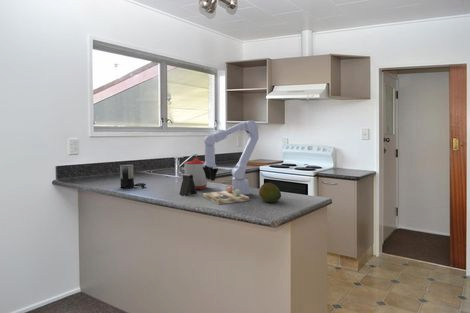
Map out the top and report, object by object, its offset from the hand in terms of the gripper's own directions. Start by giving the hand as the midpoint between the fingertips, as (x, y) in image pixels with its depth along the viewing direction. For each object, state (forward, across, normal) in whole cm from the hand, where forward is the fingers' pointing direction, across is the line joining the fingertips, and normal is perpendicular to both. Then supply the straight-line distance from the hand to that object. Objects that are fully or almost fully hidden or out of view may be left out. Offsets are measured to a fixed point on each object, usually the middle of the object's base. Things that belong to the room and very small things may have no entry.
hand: (210, 179), depth 214 cm
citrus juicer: (+10, -27, +2) cm, 29 cm away
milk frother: (+10, -52, -35) cm, 63 cm away
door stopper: (+10, -11, -10) cm, 18 cm away
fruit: (+10, +31, +22) cm, 39 cm away
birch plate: (+9, +12, +4) cm, 16 cm away
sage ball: (+6, +17, +10) cm, 20 cm away
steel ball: (+8, +17, +1) cm, 19 cm away
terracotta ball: (+6, +6, +10) cm, 13 cm away
